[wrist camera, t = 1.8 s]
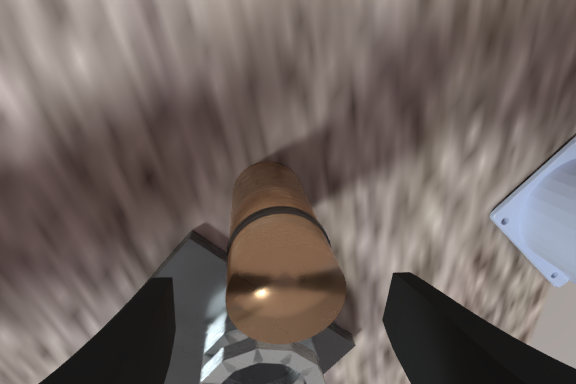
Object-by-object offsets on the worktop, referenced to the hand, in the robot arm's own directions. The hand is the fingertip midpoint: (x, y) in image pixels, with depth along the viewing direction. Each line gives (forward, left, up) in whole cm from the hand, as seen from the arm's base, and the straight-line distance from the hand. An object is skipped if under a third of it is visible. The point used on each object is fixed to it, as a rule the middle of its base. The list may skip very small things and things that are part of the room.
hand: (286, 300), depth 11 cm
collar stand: (-5, +11, -9) cm, 15 cm away
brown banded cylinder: (0, 0, -9) cm, 9 cm away
